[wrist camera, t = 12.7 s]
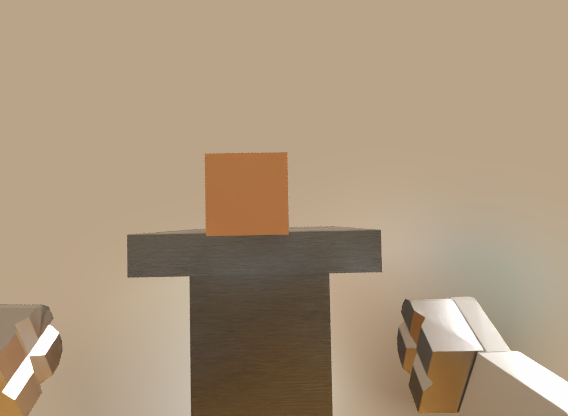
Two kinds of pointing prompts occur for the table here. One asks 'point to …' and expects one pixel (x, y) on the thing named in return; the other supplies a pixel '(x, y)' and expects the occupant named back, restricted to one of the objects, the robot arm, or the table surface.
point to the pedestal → (258, 312)
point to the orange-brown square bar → (246, 194)
